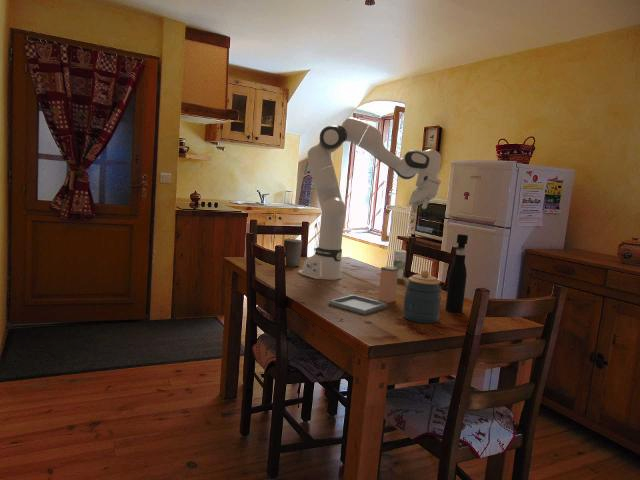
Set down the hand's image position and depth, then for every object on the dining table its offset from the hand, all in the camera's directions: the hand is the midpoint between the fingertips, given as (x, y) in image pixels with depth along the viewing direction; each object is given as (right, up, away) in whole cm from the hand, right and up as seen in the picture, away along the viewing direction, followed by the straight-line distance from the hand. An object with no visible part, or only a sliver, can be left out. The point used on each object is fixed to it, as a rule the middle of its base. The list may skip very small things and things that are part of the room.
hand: (418, 210), depth 217 cm
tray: (-31, -39, -36) cm, 61 cm away
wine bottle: (+7, -41, -31) cm, 52 cm away
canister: (-9, -42, -45) cm, 62 cm away
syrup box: (-6, -33, +25) cm, 42 cm away
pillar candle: (-60, -27, +37) cm, 76 cm away
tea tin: (-18, -38, -23) cm, 48 cm away
